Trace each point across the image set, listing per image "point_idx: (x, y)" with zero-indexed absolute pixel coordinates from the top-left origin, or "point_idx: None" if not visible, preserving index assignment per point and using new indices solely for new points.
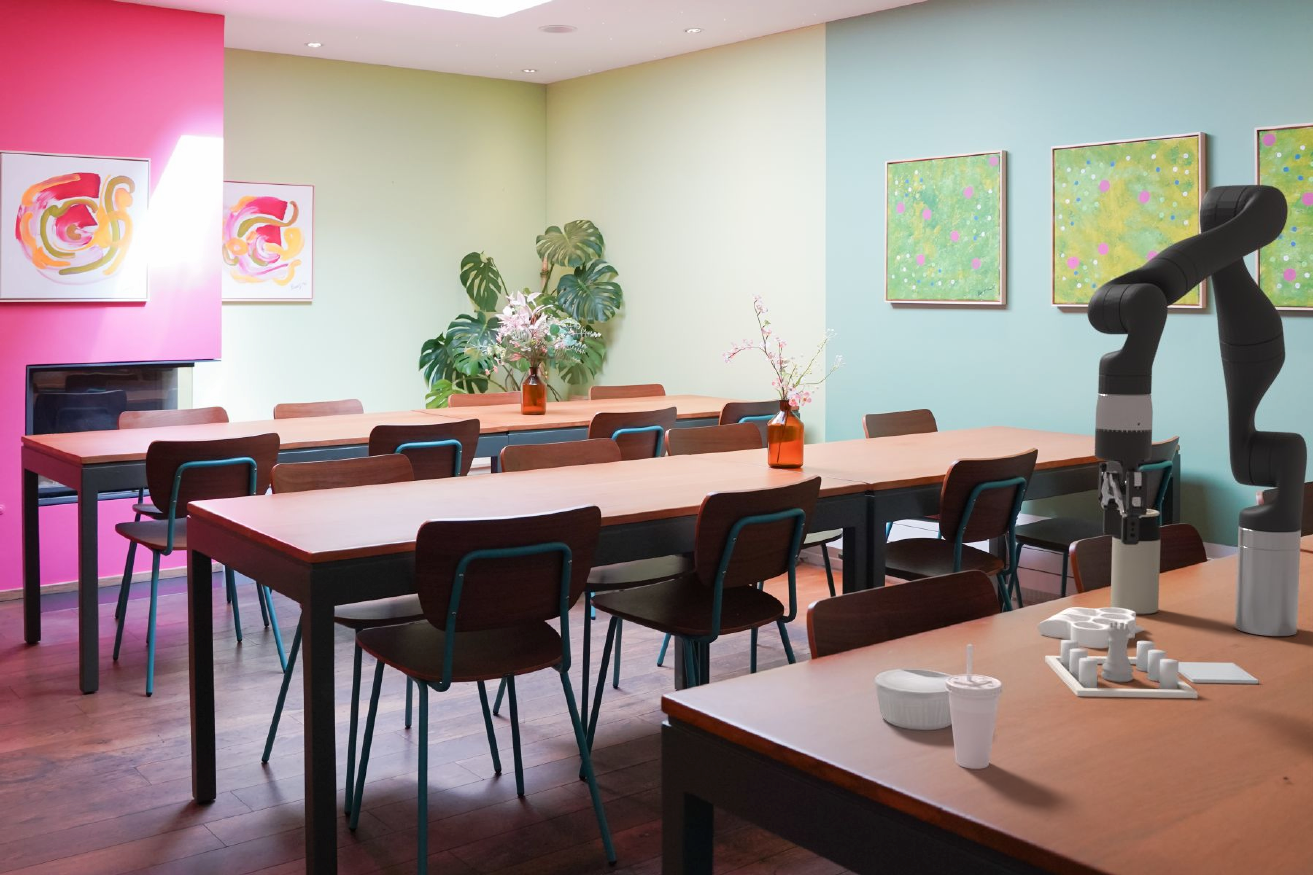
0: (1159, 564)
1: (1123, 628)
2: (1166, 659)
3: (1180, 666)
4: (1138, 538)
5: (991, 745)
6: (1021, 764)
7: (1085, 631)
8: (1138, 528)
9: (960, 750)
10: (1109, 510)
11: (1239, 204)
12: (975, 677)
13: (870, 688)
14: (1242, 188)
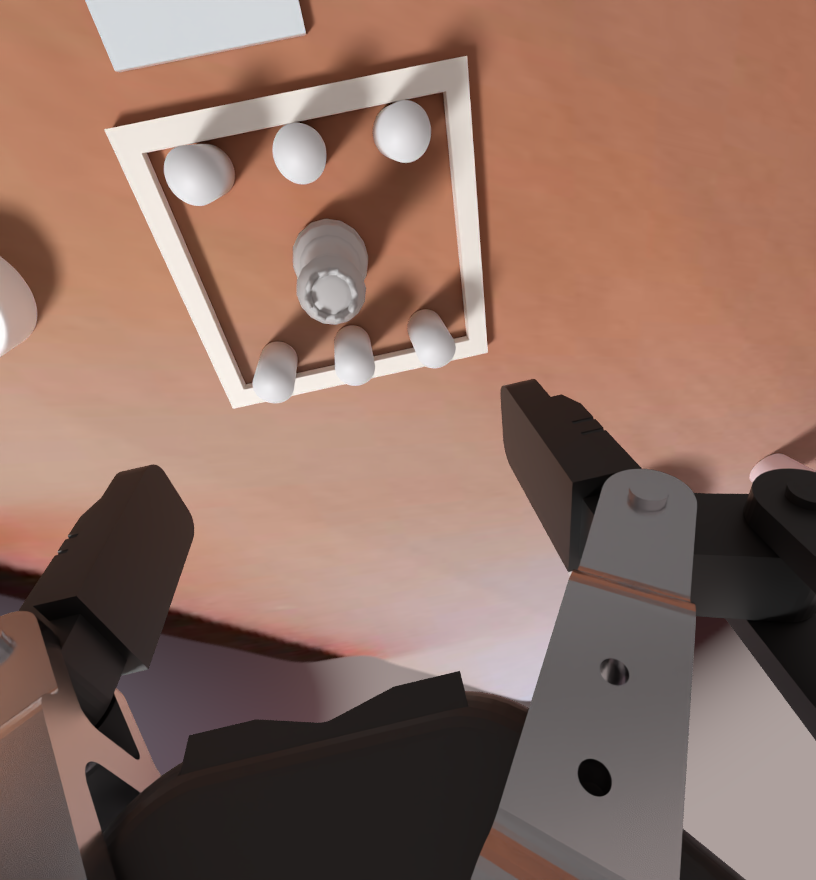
0: None
1: (356, 282)
2: (386, 138)
3: (160, 43)
4: (543, 392)
5: (803, 466)
6: (787, 420)
7: (13, 330)
8: (572, 429)
9: None
10: (133, 644)
11: None
12: None
13: (482, 592)
14: None
